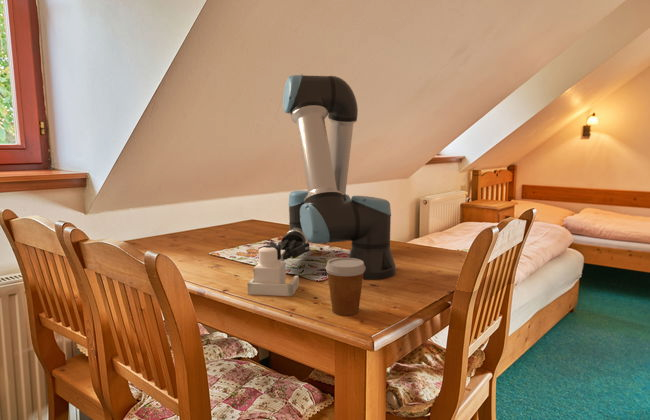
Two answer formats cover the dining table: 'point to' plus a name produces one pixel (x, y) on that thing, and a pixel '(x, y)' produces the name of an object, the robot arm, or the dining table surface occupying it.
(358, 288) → the disposable coffee cup
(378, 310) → the dining table surface
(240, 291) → the dining table surface
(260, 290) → the pocket
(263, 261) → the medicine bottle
